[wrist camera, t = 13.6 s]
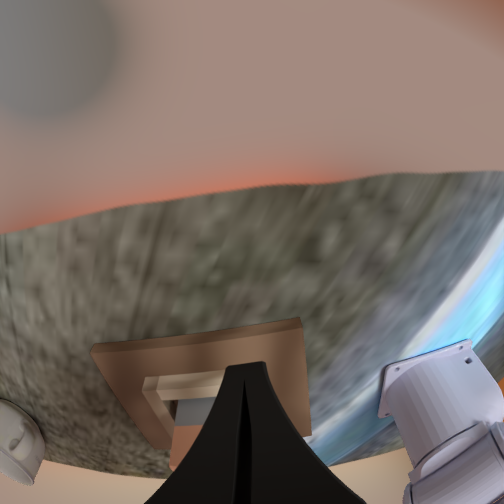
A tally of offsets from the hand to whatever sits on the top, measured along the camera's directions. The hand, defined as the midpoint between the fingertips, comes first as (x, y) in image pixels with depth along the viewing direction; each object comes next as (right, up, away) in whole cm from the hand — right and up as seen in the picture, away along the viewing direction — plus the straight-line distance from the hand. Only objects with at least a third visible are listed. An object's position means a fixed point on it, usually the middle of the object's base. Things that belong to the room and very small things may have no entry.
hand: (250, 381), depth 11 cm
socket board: (-3, -7, +14) cm, 16 cm away
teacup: (-28, -15, +17) cm, 36 cm away
